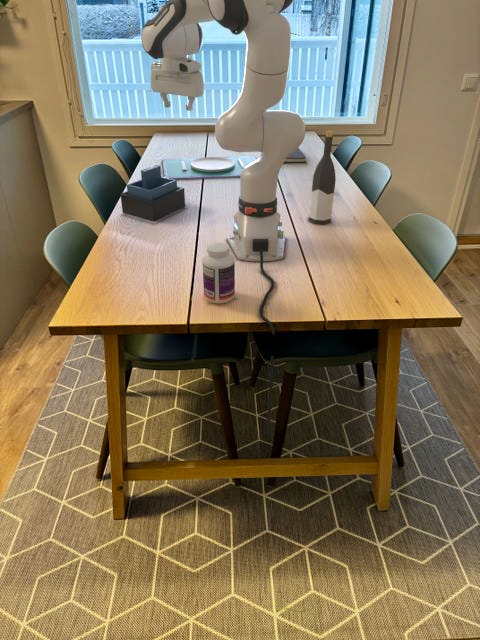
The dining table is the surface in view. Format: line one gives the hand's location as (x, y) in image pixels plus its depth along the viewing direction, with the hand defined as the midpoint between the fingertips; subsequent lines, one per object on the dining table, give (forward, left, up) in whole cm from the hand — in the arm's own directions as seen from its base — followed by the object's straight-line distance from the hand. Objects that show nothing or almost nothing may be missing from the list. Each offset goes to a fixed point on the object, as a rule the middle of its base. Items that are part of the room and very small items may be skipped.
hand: (178, 108), depth 163 cm
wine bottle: (-21, -49, -33) cm, 63 cm away
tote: (-11, +10, -33) cm, 36 cm away
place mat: (+43, -12, -33) cm, 56 cm away
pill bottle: (-72, -12, -33) cm, 80 cm away
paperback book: (+62, -49, -33) cm, 86 cm away
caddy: (-11, +10, -32) cm, 35 cm away
